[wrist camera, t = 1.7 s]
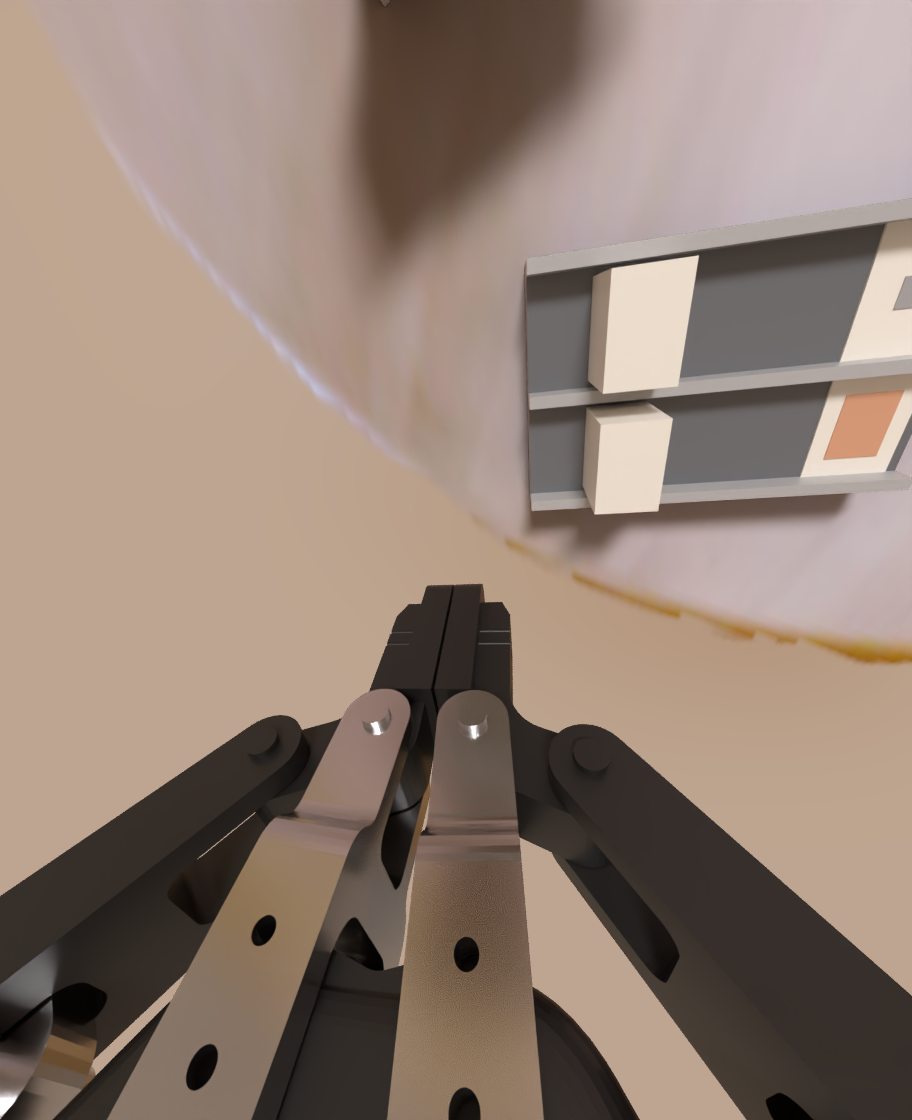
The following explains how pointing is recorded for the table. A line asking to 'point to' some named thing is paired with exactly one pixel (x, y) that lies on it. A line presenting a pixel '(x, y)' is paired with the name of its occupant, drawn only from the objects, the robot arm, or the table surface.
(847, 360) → the switch panel
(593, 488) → the far tab
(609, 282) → the near tab
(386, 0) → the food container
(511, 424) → the table surface
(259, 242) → the table surface
